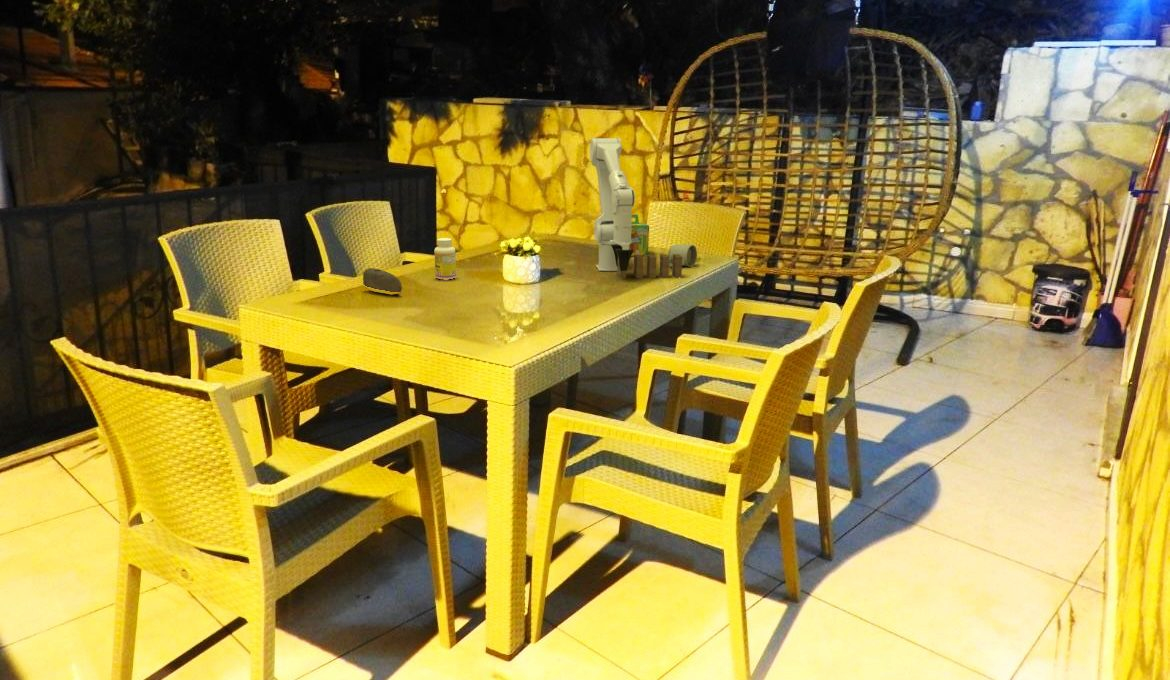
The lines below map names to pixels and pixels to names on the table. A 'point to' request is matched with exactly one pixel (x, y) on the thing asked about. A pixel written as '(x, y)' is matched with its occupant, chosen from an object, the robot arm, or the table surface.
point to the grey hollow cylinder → (683, 254)
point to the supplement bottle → (445, 259)
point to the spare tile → (621, 272)
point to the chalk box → (639, 237)
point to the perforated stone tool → (381, 280)
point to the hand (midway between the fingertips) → (621, 268)
